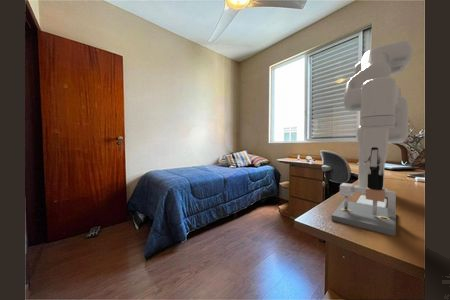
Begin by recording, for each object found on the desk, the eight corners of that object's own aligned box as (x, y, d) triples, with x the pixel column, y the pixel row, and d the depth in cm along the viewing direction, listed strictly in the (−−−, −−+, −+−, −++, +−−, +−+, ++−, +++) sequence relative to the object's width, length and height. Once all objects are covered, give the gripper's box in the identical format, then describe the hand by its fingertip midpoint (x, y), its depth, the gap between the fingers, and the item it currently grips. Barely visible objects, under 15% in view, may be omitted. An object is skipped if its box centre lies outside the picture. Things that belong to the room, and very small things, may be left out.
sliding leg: (366, 211, 55) (367, 167, 55) (384, 215, 53) (385, 168, 52) (365, 214, 53) (366, 168, 52) (383, 218, 50) (384, 169, 50)
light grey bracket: (342, 206, 61) (342, 182, 61) (395, 216, 52) (395, 189, 52) (339, 210, 58) (339, 185, 57) (395, 222, 49) (395, 192, 48)
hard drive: (360, 194, 75) (355, 202, 66) (387, 198, 70) (385, 207, 61) (360, 198, 76) (355, 206, 67) (387, 203, 70) (385, 212, 61)
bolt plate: (343, 204, 67) (343, 200, 67) (395, 214, 58) (395, 209, 58) (331, 220, 54) (331, 214, 54) (395, 236, 45) (395, 229, 45)
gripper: (364, 126, 60) (363, 181, 61) (355, 122, 48) (354, 191, 49) (395, 124, 55) (393, 184, 56) (394, 120, 43) (392, 196, 44)
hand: (375, 186), depth 52 cm, fingers closed on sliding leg, 3 cm apart
